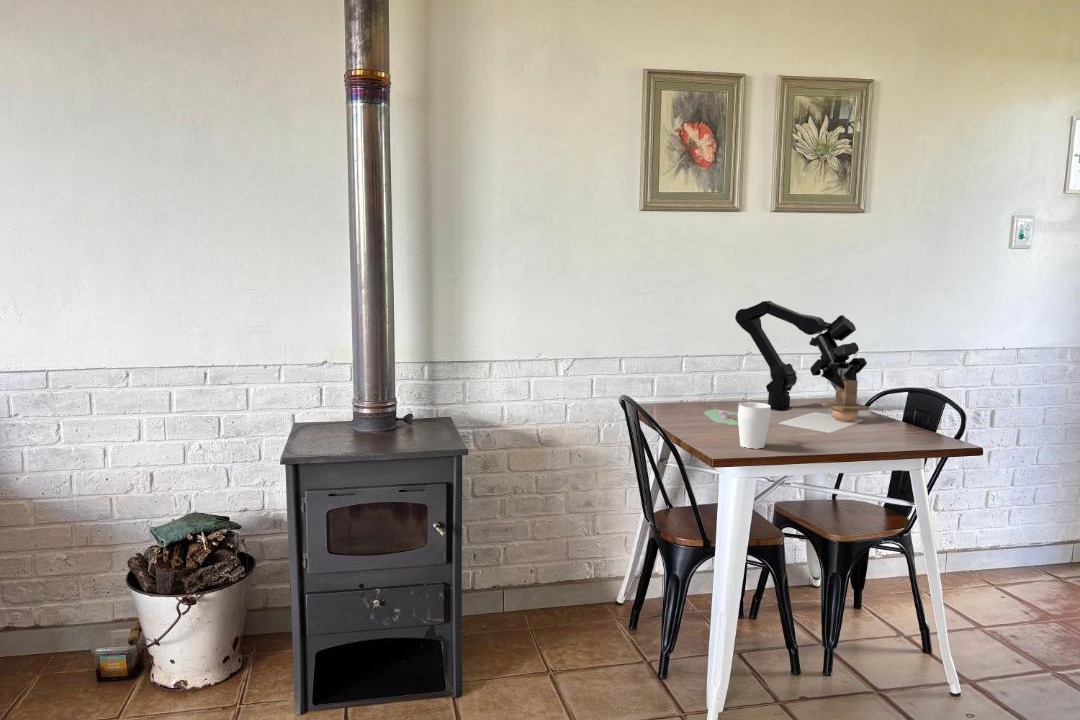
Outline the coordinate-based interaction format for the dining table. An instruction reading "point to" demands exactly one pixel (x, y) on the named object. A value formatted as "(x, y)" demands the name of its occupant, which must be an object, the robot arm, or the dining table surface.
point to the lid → (846, 397)
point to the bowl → (844, 415)
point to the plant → (723, 415)
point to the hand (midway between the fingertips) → (849, 387)
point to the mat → (818, 422)
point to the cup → (753, 424)
